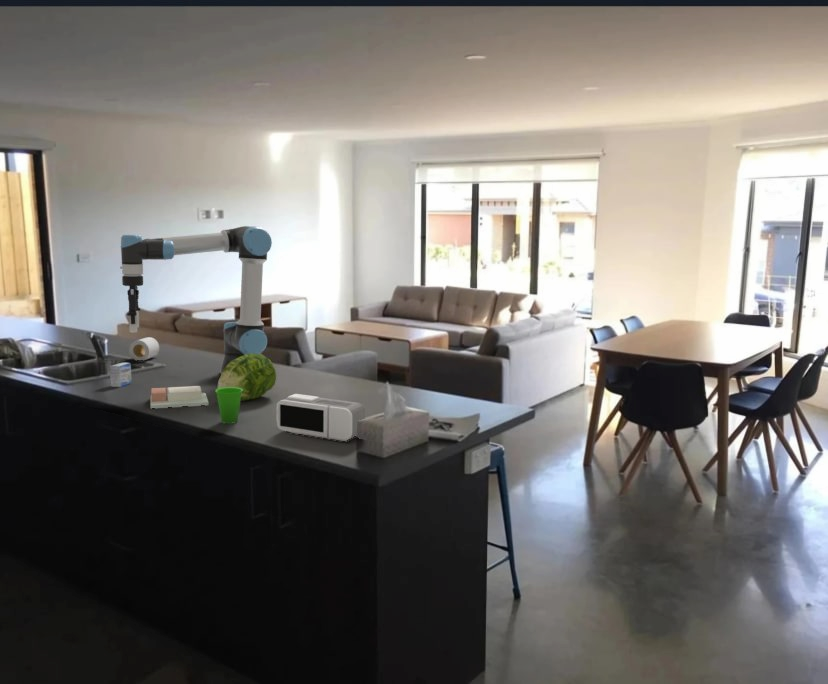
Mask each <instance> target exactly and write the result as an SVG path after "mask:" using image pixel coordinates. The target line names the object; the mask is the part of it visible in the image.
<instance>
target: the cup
mask: <svg viewBox="0 0 828 684" xmlns="http://www.w3.org/2000/svg"><path fill="white" fill-rule="evenodd" d="M242 391H243V389H241V388H237V387H224V388H219V389H218V388H216V389H215V391H214V392H215V393H216V398H217V399H216V400H217V404H218V409H219V413H220V421H221V423H222V422H225V423H232V422H236V421H237V422H238V420H239V414H240V413H239V412H240V405H241V401H240V400H241V393H242ZM237 422H236V423H237ZM225 423H224V424H225ZM232 424H233V423H232Z"/></svg>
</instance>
